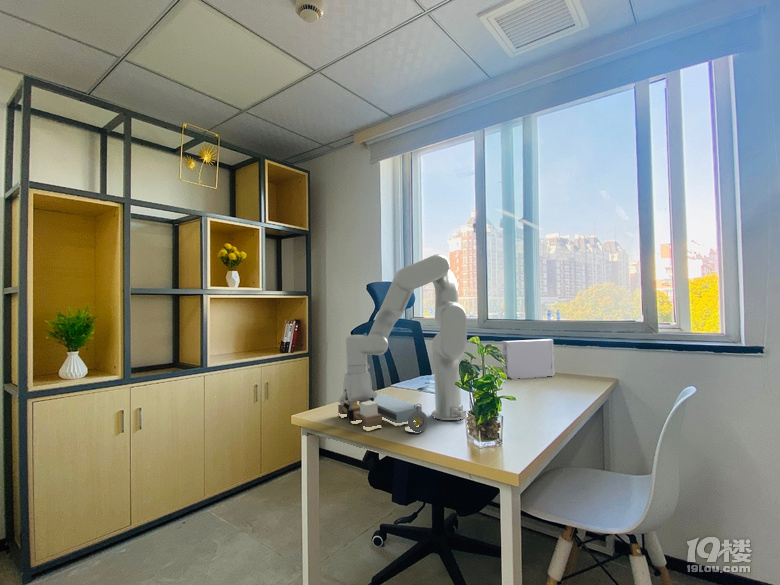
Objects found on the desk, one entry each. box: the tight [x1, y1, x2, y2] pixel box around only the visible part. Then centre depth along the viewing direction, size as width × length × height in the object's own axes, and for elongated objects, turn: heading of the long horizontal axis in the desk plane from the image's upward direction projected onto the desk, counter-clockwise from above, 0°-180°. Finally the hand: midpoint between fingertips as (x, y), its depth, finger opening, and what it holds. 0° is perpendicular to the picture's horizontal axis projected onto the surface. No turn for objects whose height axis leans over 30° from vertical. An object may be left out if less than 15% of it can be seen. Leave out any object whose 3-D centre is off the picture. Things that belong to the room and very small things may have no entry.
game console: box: [502, 338, 555, 380], centre depth 209 cm, size 6×27×20 cm, turn 98°
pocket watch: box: [407, 403, 429, 433], centre depth 127 cm, size 8×8×10 cm
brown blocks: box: [337, 403, 383, 427], centre depth 139 cm, size 22×6×4 cm, turn 33°
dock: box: [358, 393, 423, 423], centre depth 146 cm, size 26×12×5 cm, turn 33°
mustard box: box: [340, 393, 358, 406], centre depth 146 cm, size 4×4×4 cm
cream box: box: [359, 401, 378, 417], centre depth 133 cm, size 4×4×4 cm
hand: (359, 418), depth 139 cm, fingers closed on brown blocks, 6 cm apart
